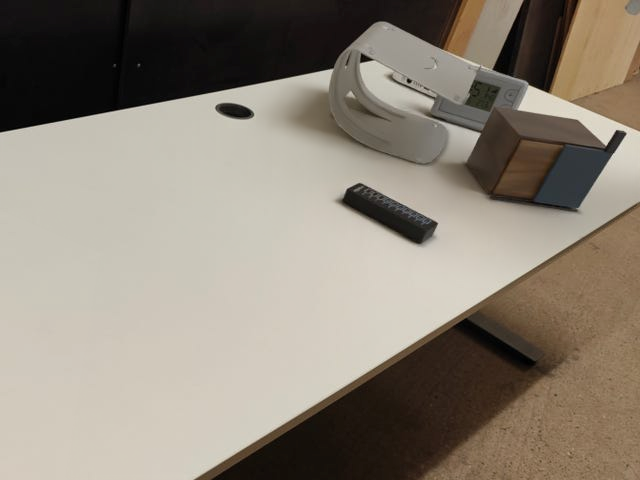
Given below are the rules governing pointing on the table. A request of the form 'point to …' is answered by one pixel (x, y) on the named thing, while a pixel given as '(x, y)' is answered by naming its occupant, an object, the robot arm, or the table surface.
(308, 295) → the table surface
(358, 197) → the multiport hub
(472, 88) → the digital clock
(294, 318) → the table surface
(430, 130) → the laptop stand
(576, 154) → the sliding door
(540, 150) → the cupboard
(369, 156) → the table surface
